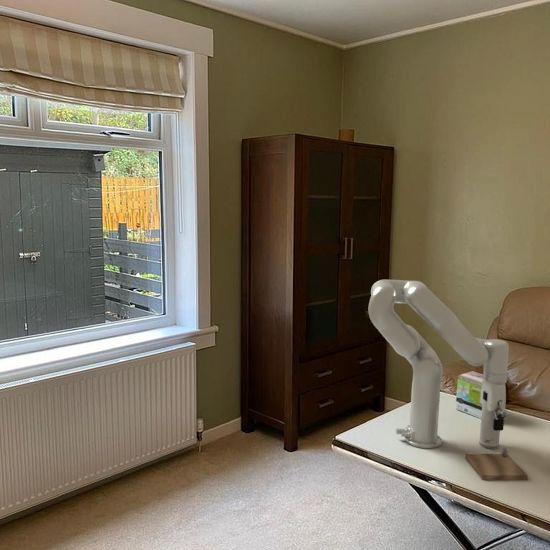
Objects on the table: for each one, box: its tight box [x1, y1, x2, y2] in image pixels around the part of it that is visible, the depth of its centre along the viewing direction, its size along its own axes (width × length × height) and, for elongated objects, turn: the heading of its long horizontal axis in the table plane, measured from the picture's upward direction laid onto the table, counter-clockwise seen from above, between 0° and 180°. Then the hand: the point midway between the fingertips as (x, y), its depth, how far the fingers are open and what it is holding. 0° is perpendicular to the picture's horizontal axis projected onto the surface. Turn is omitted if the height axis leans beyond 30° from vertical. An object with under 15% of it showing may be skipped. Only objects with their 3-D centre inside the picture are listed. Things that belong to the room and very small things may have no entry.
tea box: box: [455, 370, 483, 420], centre depth 221 cm, size 15×10×15 cm
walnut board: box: [464, 447, 529, 481], centre depth 176 cm, size 14×14×4 cm
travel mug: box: [478, 391, 501, 450], centre depth 191 cm, size 6×7×20 cm
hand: (492, 424), depth 192 cm, fingers open, 9 cm apart
